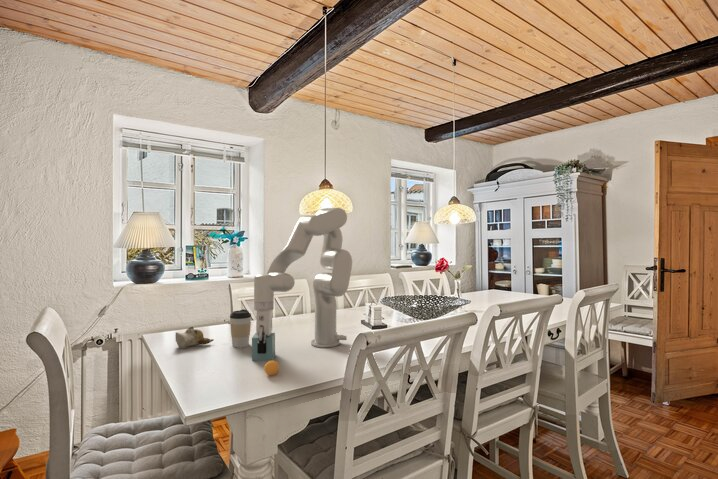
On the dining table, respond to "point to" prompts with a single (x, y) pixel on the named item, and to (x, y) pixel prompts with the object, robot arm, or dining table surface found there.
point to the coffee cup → (240, 328)
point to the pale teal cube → (269, 348)
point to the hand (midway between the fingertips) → (263, 349)
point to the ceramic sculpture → (191, 338)
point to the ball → (271, 368)
